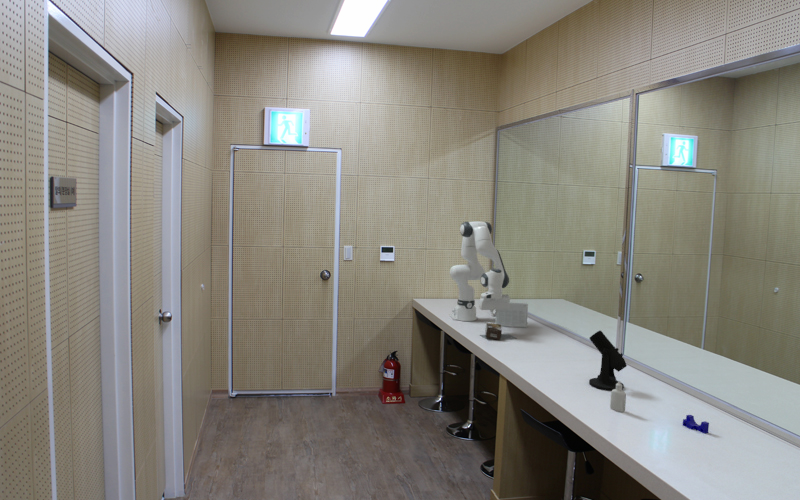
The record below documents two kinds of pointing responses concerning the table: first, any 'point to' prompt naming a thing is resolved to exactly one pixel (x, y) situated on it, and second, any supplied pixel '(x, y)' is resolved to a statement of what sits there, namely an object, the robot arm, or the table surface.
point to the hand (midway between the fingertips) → (494, 316)
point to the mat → (503, 336)
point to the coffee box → (493, 330)
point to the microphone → (607, 363)
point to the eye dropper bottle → (618, 398)
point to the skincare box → (513, 315)
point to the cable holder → (695, 424)
